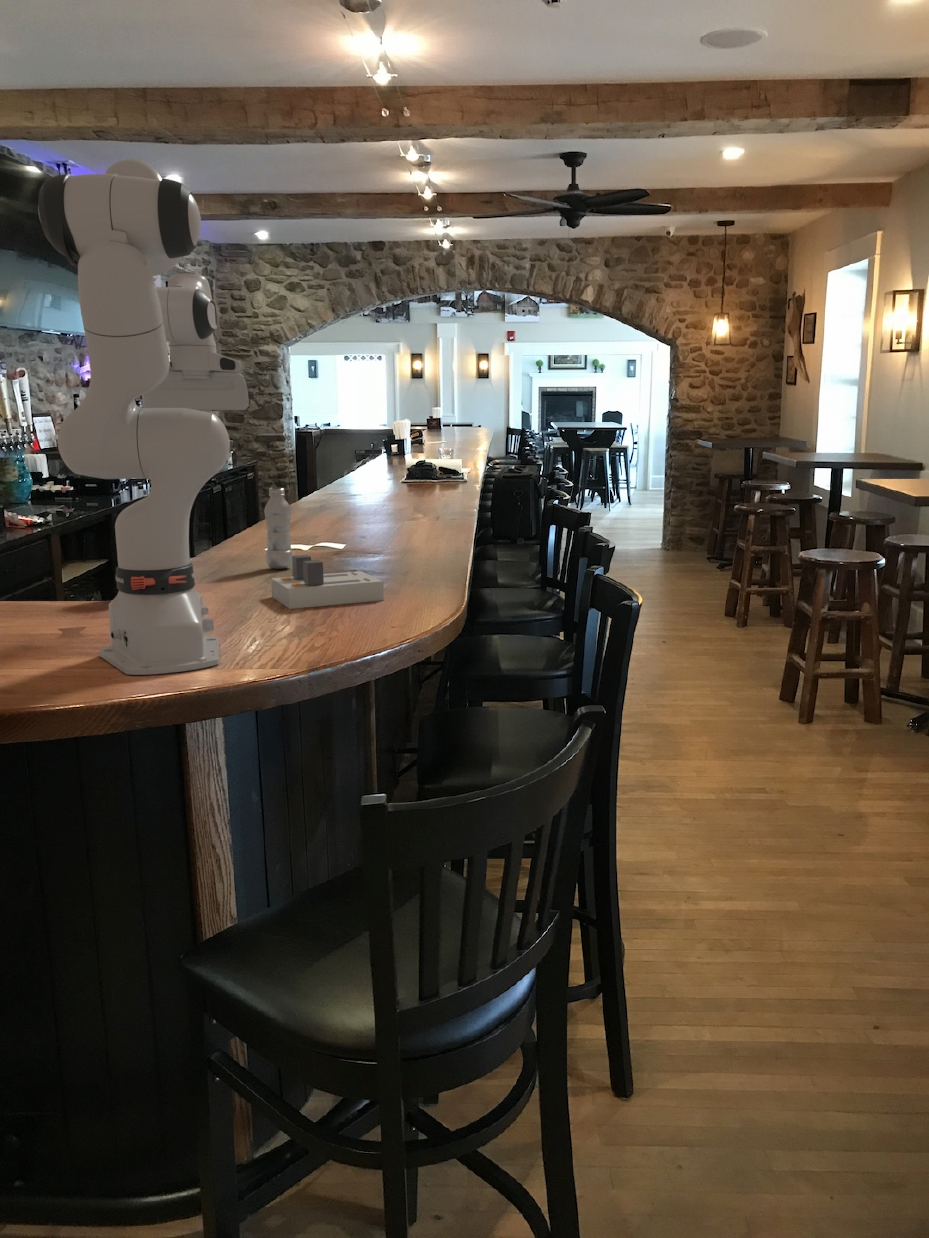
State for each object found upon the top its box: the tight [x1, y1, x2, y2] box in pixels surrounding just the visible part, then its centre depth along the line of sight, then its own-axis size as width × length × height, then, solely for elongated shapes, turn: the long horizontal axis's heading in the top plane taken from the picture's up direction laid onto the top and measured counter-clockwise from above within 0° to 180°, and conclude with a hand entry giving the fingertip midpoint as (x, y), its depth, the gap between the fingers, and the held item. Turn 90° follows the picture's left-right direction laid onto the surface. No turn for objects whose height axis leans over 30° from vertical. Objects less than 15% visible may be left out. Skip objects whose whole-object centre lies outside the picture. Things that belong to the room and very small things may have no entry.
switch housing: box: [270, 570, 385, 610], centre depth 196 cm, size 14×20×4 cm
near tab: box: [303, 559, 324, 585], centre depth 190 cm, size 3×3×4 cm
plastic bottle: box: [263, 487, 294, 570], centre depth 231 cm, size 6×7×20 cm
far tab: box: [291, 554, 312, 579], centre depth 197 cm, size 3×3×4 cm
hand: (198, 434), depth 186 cm, fingers closed
